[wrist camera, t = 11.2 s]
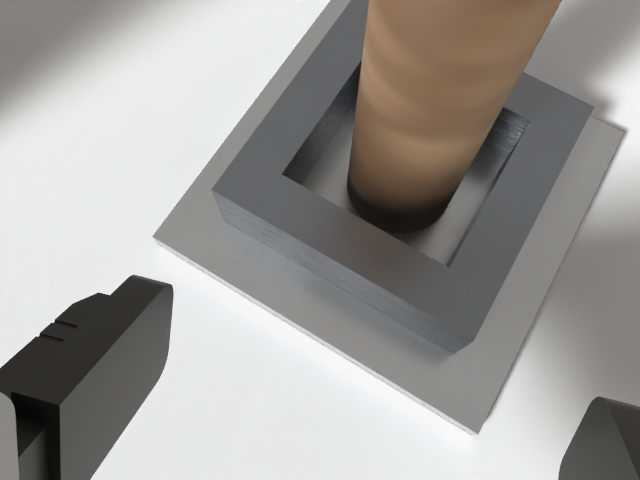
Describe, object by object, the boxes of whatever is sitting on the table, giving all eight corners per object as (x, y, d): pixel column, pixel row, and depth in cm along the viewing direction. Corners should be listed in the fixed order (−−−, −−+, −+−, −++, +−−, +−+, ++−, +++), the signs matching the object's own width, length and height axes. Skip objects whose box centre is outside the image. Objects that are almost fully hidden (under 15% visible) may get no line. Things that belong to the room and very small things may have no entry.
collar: (158, 244, 20) (129, 207, 17) (335, 7, 23) (339, -61, 20) (471, 435, 18) (504, 432, 15) (613, 143, 21) (664, 91, 18)
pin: (327, 200, 20) (345, -136, 8) (379, 122, 21) (457, -271, 9) (420, 253, 19) (577, -33, 8) (469, 169, 20) (669, -190, 9)
